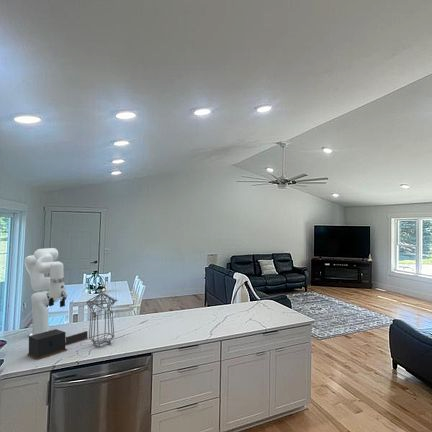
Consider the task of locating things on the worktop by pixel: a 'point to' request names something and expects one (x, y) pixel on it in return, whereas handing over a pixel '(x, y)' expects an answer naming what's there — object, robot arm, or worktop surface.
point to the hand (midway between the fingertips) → (56, 306)
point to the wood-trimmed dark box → (46, 344)
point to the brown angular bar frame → (76, 338)
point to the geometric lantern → (101, 314)
